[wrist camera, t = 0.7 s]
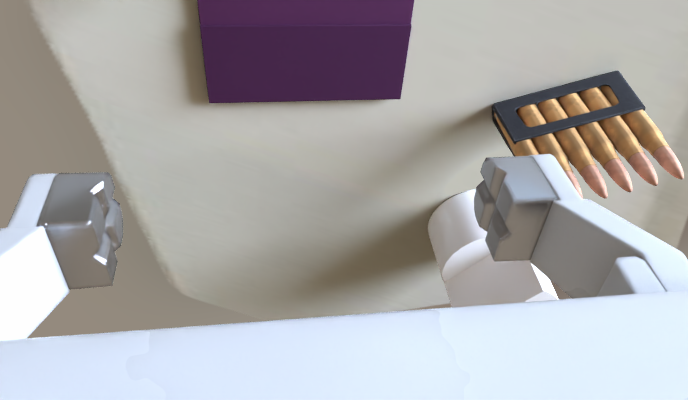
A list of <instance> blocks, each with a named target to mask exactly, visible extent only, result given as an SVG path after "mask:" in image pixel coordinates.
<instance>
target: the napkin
mask: <svg viewBox="0 0 688 400" xmlns="http://www.w3.org/2000/svg"><path fill="white" fill-rule="evenodd" d="M197 3H198V11H199V20H200V31H201V39H202V48H203V56H204V64H205V72H206V80H207V89H208V97H209V103H241V102H286V101H331V100H376V99H400V97H401V90H402V84H403V77H404V70H405V64H406V57H407V51H408V44H409V37H410V31H411V18H412V11H413V4H414V0H197Z"/></svg>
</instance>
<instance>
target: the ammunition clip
mask: <svg viewBox="0 0 688 400" xmlns="http://www.w3.org/2000/svg"><path fill="white" fill-rule="evenodd" d="M644 110H645V106H644V105H643V104H642V102H641V101H640V99H639V98H638V97H637V95H636V94H635V93H634V91H633V90H632V89H631V87H630V86H629V85H628V83H627V82H626V80H625V79H624V78H623V76H622V75H621V74H620V72H619V71H614V72H610V73H607V74H603V75H599V76H595V77H592V78H588V79H584V80H581V81H577V82H573V83H569V84H566V85H562V86H558V87H554V88H551V89H547V90H543V91H539V92H536V93H532V94H528V95H525V96H521V97H517V98H513V99H510V100H506V101H502V102H498V103H495V104H493V106H492V114H493V122H494V124H495V126H496V127H497V129H498V131H499V132H500V134H501V136H502V137H503V139H504V141H505V142H506V144H507V146H508V147H509V149H510V151H511V152H512V154H513V156H529V155H539V154H551V155H553V156H554V157H555V158H556V160H557V161H558V163H559V164H560V166H561V167H562V169H563V170H564V172H565V173H566V175H567V177H568V178H569V180H570V181H571V183H572V184H573V186H574V187H575V189H576V190H577V192H578V193H579V195H580V196H581V198H582V199H583V197H582V192H581V189H580V186H579V183H578V181H577V179H576V177H575V176H574V174H573V171H572V169H571V167H570V165H569V161H570V163H571V164H572V165H573V166H574V167H575V168H576V169H577V170H578V172H579V173H580V175H581V176H582V177H583V178H584V180H585V182H586V183H587V184H588V185H589V186H590V188H591V189H592V190H593V191H594V192H595V193H597V194H598V195H599V196H600V197H602V198H605V199H606V198H607V188H606V184H605V182H604V179H603V177H602V175H601V173H600V171H599V170H598V168H597V166H596V164H595V162H594V160H593V158H592V156H593V157H594V158H595V159H596V160H597V161H598V162H599V163H600V164H601V165H602V167H603V168H604V169H605V170H606V171H607V173H608V174H609V176H610V177H611V178H612V179H613V180H614V181H615V182H616V183H617V184H618V185H619V186H620V187H621V188H622V189H624V190H625V191H627V192H632V183H631V180H630V177H629V174H628V172H627V170H626V168H625V167H624V165H623V164H622V162H621V160H620V158H619V157H618V155H617V153H616V151H615V149H616V150H617V151H618V153H619V154H621V155H622V156H623V157H624V158H625V159H626V160H627V161H628V163H629V164H630V165H631V166H632V167H633V169H634V170H635V171H636V172H637V173H638V174H639V175H640V176H641V177H642V178H643V179H644V180H645V181H647V182H648V183H650V184H652V185H654V186H657V185H658V179H657V175H656V172H655V170H654V168H653V166H652V164H651V162H650V161H649V159H648V158H647V157H646V155H645V153H644V151H643V150H642V148H641V147H640V145H641V146H642V147H643V148H645V149H646V150H647V151H649V153H650V154H651V155H652V156H653V157H654V158H655V159H656V160H657V161H658V163H659V164H660V165H661V166H662V167H663V168H664V169H665V170H666V171H667V172H669V173H670V174H671V175H673V176H674V177H676V178H678V179H683V178H684V174H683V170H682V167H681V165H680V162H679V161H678V159H677V157H676V156H675V154H674V153H673V152H672V150H671V149H670V147H669V146H668V144H667V143H666V141H665V139H664V137H663V135H662V133H661V132H660V130H659V129H658V128H657V127H656V125H655V124H654V123H653V122H652V120H651V119H650V118H649V117H648V115H647V114H646V113H645V112H644ZM639 143H640V144H639ZM591 154H592V155H591ZM568 160H569V161H568Z"/></svg>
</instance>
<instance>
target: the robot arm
mask: <svg viewBox="0 0 688 400" xmlns="http://www.w3.org/2000/svg"><path fill="white" fill-rule="evenodd" d="M481 174H482V176H483V178H484V180H483V181H482V182H481V183H480V184H479V185H478V186H477V187H476V191H475V196H474V212H475V217H476V220H477V223H478V225H479V227H481V228H482V229H484V230H485V231H486V232H487V235H486V239H485V242H486V244H487V246H488V248H489V251H490V253H491V255H492V258H493V260H494V262H497V261H525V260H530V263H532V264H533V265H534V266H535V267H536V268H537V269H539V270H540V271H541V272H542V273H543V274H544V275H546V276H547V277H548V278H549V279H550V280H551V281H553V282H554V283H555V284H556V285H557V286H558V287H560V288H561V289H562V290H563V291H564V292H565V293H566V294H568V295H569V296H570V297H571V298H572V299H561V300H547V301H534V302H521V303H508V304H494V305H480V306H466V307H452V308H438V309H424V310H410V311H396V312H382V313H368V314H355V315H341V316H328V317H314V318H301V319H287V320H274V321H260V322H247V323H233V324H220V325H206V326H194V327H193V326H192V327H180V328H166V329H152V330H138V331H124V332H111V333H97V334H83V335H69V336H55V337H43V338H29V339H27V337H28V336H29V335H30V334H31V333H32V332H33V331H34V330H35V329H36V328H37V327H38V325H39V324H40V323H41V322H42V321H43V320H44V319H45V318H46V317H47V316H48V315H49V314H50V313H51V311H52V310H53V309H54V308H55V307H56V306H57V305H58V304H59V303H60V302H61V301H62V300H63V299H64V297H65V296H66V295H67V294H68V293H69V292H70V291H69V289H81V288H91V287H103V286H112V285H113V280H114V275H115V271H116V266H117V258H116V255H115V251H116V250H117V249H118V248H119V247H120V246H121V243H122V238H123V218H122V211H121V207H120V204H119V203H118V202H117V201H116V200H114V199H113V193H114V190H115V186H114V183H113V179H112V177H111V175H110V174H109V173H108V172H104V173H103V172H99V173H59V174H33V175H31V176H30V177H29V178H28V179H27V181H26V184H25V186H24V189H23V191H22V193H21V195H20V198H19V200H18V202H17V205H16V207H15V209H14V211H13V214H12V216H11V219H10V221H9V223H8V226H7V228H0V400H688V260H687V258H686V257H685V256H684V254H683V253H682V252H681V251H679V250H677V249H675V248H674V247H672V246H670V245H668V244H667V243H665V242H663V241H661V240H660V239H658V238H656V237H654V236H652V235H651V234H649V233H647V232H645V231H644V230H642V229H640V228H638V227H637V226H635V225H633V224H631V223H630V222H628V221H626V220H624V219H623V218H621V217H619V216H617V215H616V214H614V213H612V212H610V211H609V210H607V209H605V208H603V207H602V206H600V205H598V204H596V203H595V202H593V201H591V200H589V199H582V198H581V196H580V195H579V193H578V192H577V190H576V189H575V187H574V186H573V184H572V183H571V181H570V180H569V178H568V177H567V175H566V173H565V172H564V170H563V169H562V167H561V166H560V164H559V163H558V161H557V160H556V158H555V157H554V156H553V155H551V154H539V155H529V156H513V157H491V158H486V159H485V161H484V162H483V165H482V168H481Z"/></svg>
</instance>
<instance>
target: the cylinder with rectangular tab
mask: <svg viewBox="0 0 688 400" xmlns="http://www.w3.org/2000/svg"><path fill="white" fill-rule="evenodd" d="M475 191H476V190H469V191H466V192H463V193H460V194H457V195H455V196H453V197H451V198H450V199H448V200H446V201H445V202H444V203H442V204H441V205H440V206H439V207H438V208H437V209H436V210H435V211H434V213H433V214H432V215H431V218H430V220H429V223H428V233H429V237H430V240H431V243H432V246H433V250H434V253H435V256H436V259H437V263H438V266H439V269H440V272H441V276H442V279H443V281H444V284H445V287H446V290H447V294H448V297H449V300H450V303H451V307H466V306H480V305H494V304H508V303H521V302H534V301H547V300H559V299H558V297H557V295H556V293H555V290H554V288H553V287H552V284H551V282H550V280H549V278H548V277H547V276H546V275H544V274H543V273H542V272H541V271H540V270H539V269H537V268H536V267H535V266H534V265H533V264H532V263H530V260H525V261H497V262H494V260H493V258H492V255H491V253H490V251H489V248H488V246H487V244H486V242H485V239H486V235H487V232H486V231H485V230H484V229H482V228H481V227H479V225H478V223H477V220H476V217H475V212H474V196H475Z"/></svg>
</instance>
